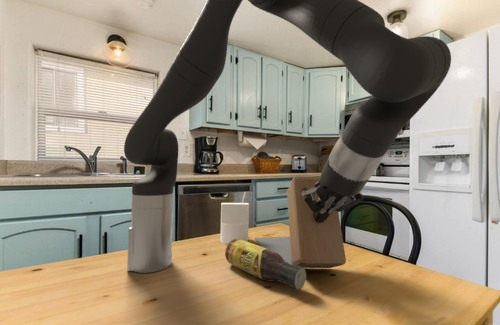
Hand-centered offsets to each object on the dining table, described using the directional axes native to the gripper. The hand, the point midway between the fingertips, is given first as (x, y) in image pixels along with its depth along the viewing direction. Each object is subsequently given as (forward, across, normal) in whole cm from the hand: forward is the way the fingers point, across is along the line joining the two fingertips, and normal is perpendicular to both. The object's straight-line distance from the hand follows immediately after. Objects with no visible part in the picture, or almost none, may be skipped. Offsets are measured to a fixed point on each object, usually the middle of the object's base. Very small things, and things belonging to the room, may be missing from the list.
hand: (317, 219), depth 53 cm
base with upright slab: (+30, +15, -11) cm, 35 cm away
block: (+8, 0, +7) cm, 11 cm away
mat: (+22, 0, -4) cm, 22 cm away
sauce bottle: (+15, +18, 0) cm, 23 cm away
